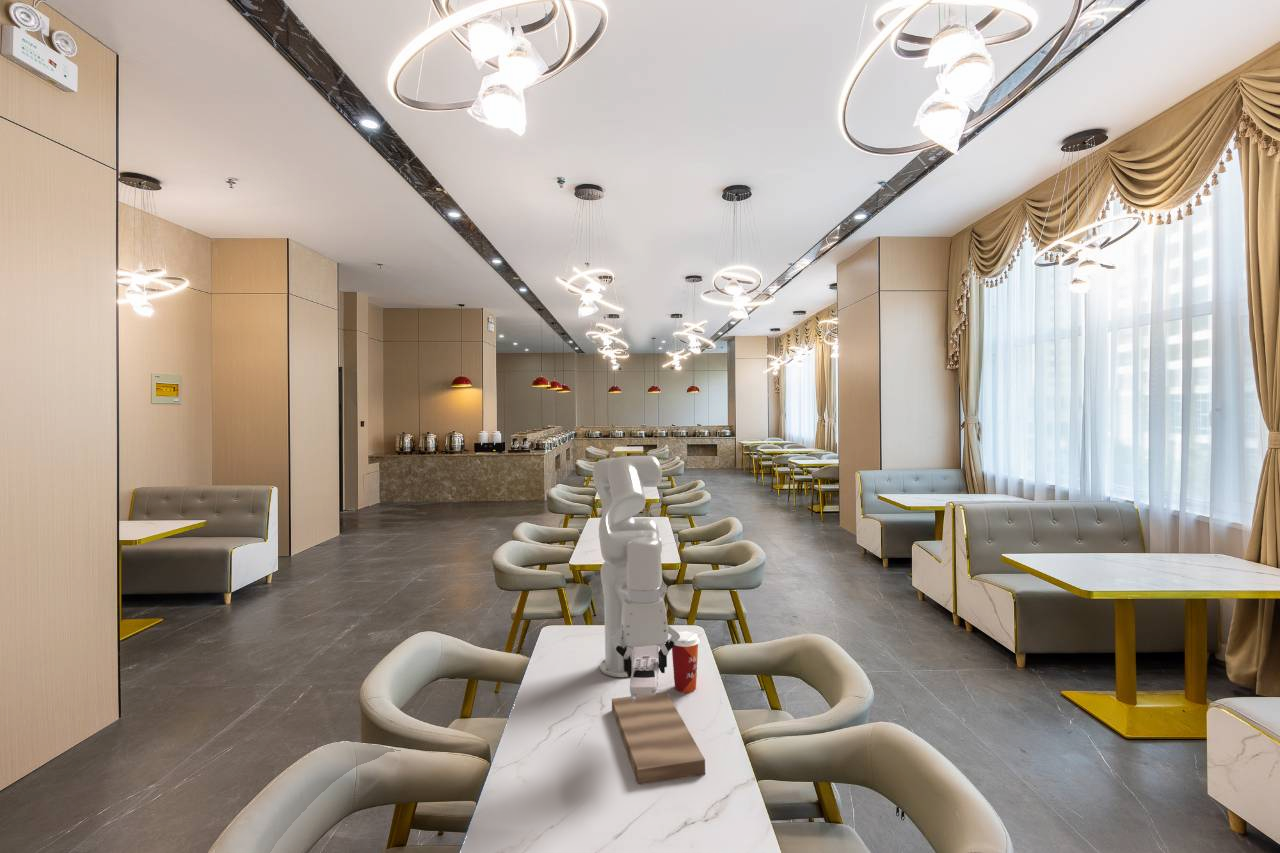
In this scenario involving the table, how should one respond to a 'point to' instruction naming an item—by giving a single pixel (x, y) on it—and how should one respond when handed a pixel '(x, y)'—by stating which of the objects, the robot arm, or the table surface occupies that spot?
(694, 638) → the paper cup
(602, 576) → the robot arm
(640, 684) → the mobile phone
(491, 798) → the table surface
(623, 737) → the walnut stand
